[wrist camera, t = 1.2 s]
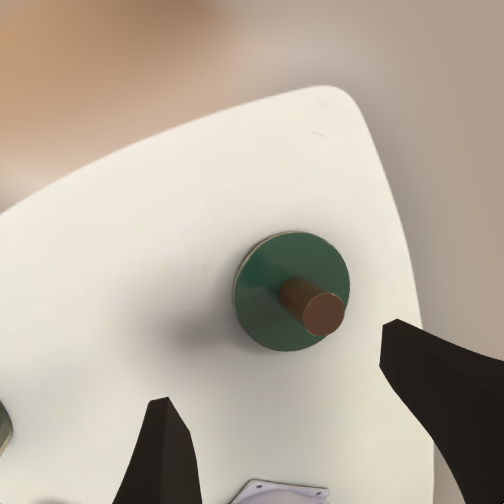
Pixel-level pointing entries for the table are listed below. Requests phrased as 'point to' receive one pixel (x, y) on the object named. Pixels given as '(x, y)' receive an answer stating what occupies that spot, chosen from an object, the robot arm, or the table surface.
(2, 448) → the pot
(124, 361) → the table surface
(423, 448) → the table surface
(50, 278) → the table surface
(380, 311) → the table surface
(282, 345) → the lid
